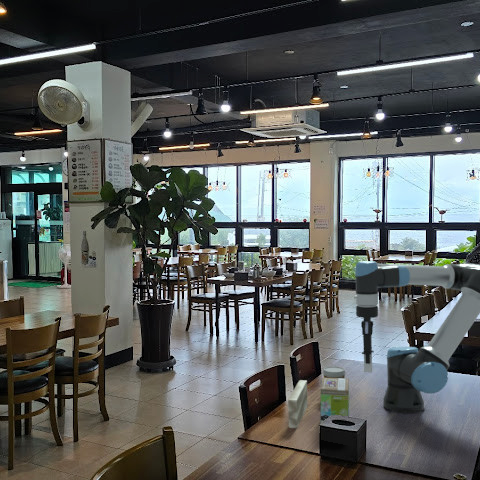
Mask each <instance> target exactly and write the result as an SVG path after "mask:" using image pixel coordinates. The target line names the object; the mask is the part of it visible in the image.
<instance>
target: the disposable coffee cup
mask: <svg viewBox="0 0 480 480" xmlns="http://www.w3.org/2000/svg"><path fill="white" fill-rule="evenodd" d="M346 373H347V372H346V369H345V368H344V367H342V366H337V365H335V366H326V367H324V368H323V369H322V374H323V378H345V376H346ZM345 379H346V378H345Z"/></svg>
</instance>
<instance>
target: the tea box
mask: <svg viewBox="0 0 480 480" xmlns="http://www.w3.org/2000/svg"><path fill="white" fill-rule="evenodd" d="M349 381H350V380H349V378H324V377H322V380H321V386H320V424H321V423H322V422H323V421H324V420H325V419H327V418H328V417H329V416H331V415H341V416H348V417H349V418H350V416H349V415H350V382H349Z"/></svg>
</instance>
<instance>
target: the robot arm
mask: <svg viewBox="0 0 480 480" xmlns="http://www.w3.org/2000/svg"><path fill="white" fill-rule="evenodd" d="M354 272H355V273H354V275H355V295H354V299H356V300H355V301H356V302H355V303H356V307H355V310H356V311H355V313H356V317H358V318H361V319H363V320H361V323H360V324H361V326H360V327H361V334H362V336H363V337H362V340H363V351H362V352H361V355H363V372H364V373H371V374H372V373H373V353H374V352H375V351H374V350H373V347H372V346H373V345H372V344H373V343H372V337H373V336H372V335H373V333H374V332H373V330H374V329H373V327H374V321H372V319H374V318H378V316H379V306H377V305H378V304H379V292H378V291H379V288H380V289H381V288H400V287H406V286H407V285H411V286H412V285H413V286H419V285H420V286H433V287H434V286H435V287H436V286H437V287H442V288H443V289H445V290H454V291H460V292H461V296H460V297H459V299H458V301H457V302H455V305H454V306H453V308H452V309H451V310H450V312H449V313H448V315H447V316H446V317H445V319H444V321H443V323H442V324H441V325H440V327H439V328H438V330H437V331H436V332H435V334H434V336H433V337H432V339H431V340H430V342H429V343H428V344H427V345H426V346H422V347H420V348H417V347H416V346H397V347H396V346H395V347H391V348H389V349H387V352H386V364H387V366H386V367H387V369H386V370H387V372H386V373H387V387H386V389H385V393H384V396H383V401H382V402H383V407H384V408H385V409H386V410H389V411H391V412H393V413H401V414H402V413H403V414H415V413H419V412H422V411H423V410H424V408H425V403H424V402H425V401H424V398H423V396H422V393H425V394H428V395H429V394H436V393H438V392H440V391H441V390H443V389H444V388H445V387H446V384H447V383H448V380H449V377H448V375H449V374H448V369H449V368H450V362H449V360H450V358H451V357H452V355H453V354H454V353H455V351H456V349H457V348H458V346H459V345H460V343H461V342H462V341H463V339H464V338H465V336H466V334H467V333H468V331H469V330H470V329H471V327H472V326H473V325H474V322H475V321H476V319H477V318H478V317H479V315H480V263H479V264H478V263H458V264H457V263H456V264H454V263H453V264H452V263H451V264H448V263H447V264H444V265H442V266H435V265H419V264H418V265H417V264H416V265H415V264H399V263H396V264H395V263H378V262H376V261H372V260H370V261H369V260H367V261H366V260H364V261H357V262H356V263H355V270H354ZM421 392H422V393H421Z"/></svg>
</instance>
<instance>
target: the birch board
mask: <svg viewBox="0 0 480 480" xmlns="http://www.w3.org/2000/svg"><path fill="white" fill-rule="evenodd" d="M287 404H288V407H287V409H288V412H287V413H288V428H290V429H298V427H299V425H300V423H301V420H302V419H303V416H304V414H305V412H306V410H307V408H308V380H303V379H300V380H298V382H297V383H296V385H295V387H294V388H293V390H292V392H291V394H290V395H289V398H288V399H287Z"/></svg>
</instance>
